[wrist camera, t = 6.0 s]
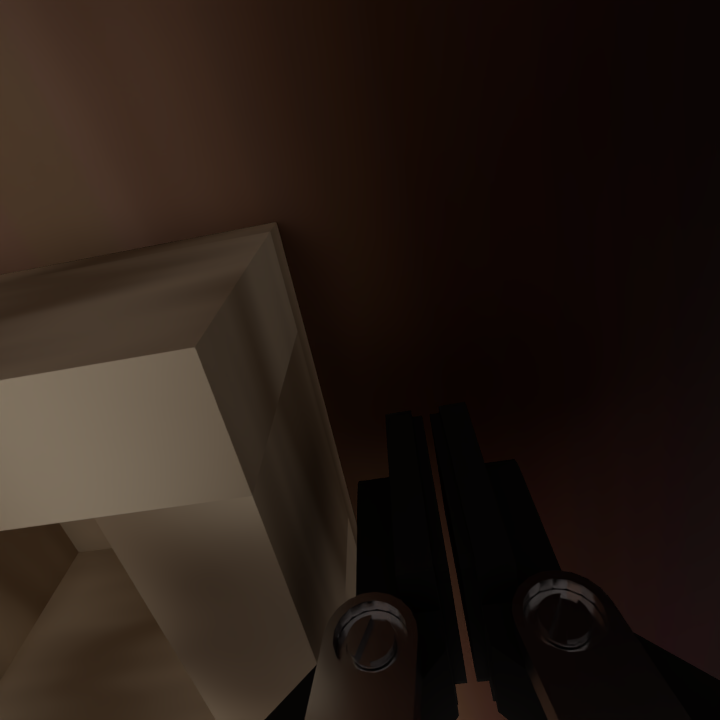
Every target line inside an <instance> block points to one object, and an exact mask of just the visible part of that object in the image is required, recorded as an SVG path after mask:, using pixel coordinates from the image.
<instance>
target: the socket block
mask: <svg viewBox="0 0 720 720" xmlns="http://www.w3.org/2000/svg"><path fill="white" fill-rule="evenodd" d="M356 561H357V524H356V520H355V516H354V512H353V509H352V505H351V501H350V497H349V494H348V490H347V486H346V482H345V479H344V475H343V471H342V467H341V463H340V460H339V456H338V452H337V448H336V445H335V441H334V437H333V433H332V430H331V426H330V422H329V418H328V414H327V411H326V407H325V403H324V399H323V396H322V392H321V388H320V384H319V381H318V377H317V373H316V369H315V365H314V362H313V358H312V354H311V350H310V347H309V343H308V339H307V335H306V332H305V328H304V324H303V320H302V316H301V313H300V309H299V305H298V301H297V298H296V294H295V290H294V286H293V283H292V279H291V275H290V271H289V267H288V264H287V260H286V256H285V252H284V249H283V245H282V241H281V237H280V234H279V230H278V226H277V222H274V223H269V224H264V225H259V226H253V227H248V228H243V229H238V230H232V231H227V232H222V233H217V234H212V235H206V236H201V237H196V238H191V239H186V240H180V241H175V242H170V243H165V244H159V245H154V246H149V247H144V248H139V249H133V250H128V251H123V252H118V253H112V254H107V255H102V256H97V257H92V258H86V259H81V260H76V261H71V262H65V263H60V264H55V265H50V266H45V267H39V268H34V269H29V270H24V271H18V272H13V273H8V274H3V275H0V720H265V719H266V718H267V716H268V715H269V714H270V713H271V712H272V711H273V710H274V709H275V708H276V707H277V706H278V705H279V704H280V703H281V702H282V701H283V700H284V699H285V697H286V696H287V695H288V694H289V693H290V692H291V691H292V690H293V689H294V688H295V687H296V686H297V685H298V684H299V683H300V682H301V681H302V680H303V678H304V677H305V676H306V675H307V674H308V673H309V672H310V671H311V670H312V669H313V668H314V667H315V666H316V665H317V661H318V657H319V653H320V648H321V644H322V639H323V635H324V631H325V629H326V626H327V624H328V621H329V619H330V618H331V616H332V615H333V614H334V612H335V611H336V610H337V608H338V607H340V606H341V605H342V604H344V603H345V602H346V601H347V600H349V599H351V598H353V597H355V596H356Z"/></svg>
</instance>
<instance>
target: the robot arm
mask: <svg viewBox="0 0 720 720" xmlns="http://www.w3.org/2000/svg"><path fill="white" fill-rule="evenodd" d="M430 419H431V425H432V432H433V438H434V445H435V451H436V458H437V464H438V470H439V477H440V483H441V490H442V496H443V503H444V509H445V515H446V521H447V526H448V531H449V536H450V542H451V547H452V552H453V557H454V563H455V568H456V573H457V579H458V584H459V589H460V594H461V600H462V605H463V610H464V615H465V621H466V626H467V631H468V636H469V642H470V647H471V652H472V657H473V663H474V668H475V673H476V678H477V682H480V681H489V682H490V687H491V692H492V697H493V701H496V703H497V708H498V712H499V713H501V714H502V715H503V716H504V717H506V718H507V719H508V720H720V680H718V679H716V678H714V677H712V676H711V675H709V674H707V673H705V672H704V671H702V670H700V669H698V668H696V667H695V666H693V665H691V664H689V663H687V662H686V661H684V660H682V659H680V658H678V657H677V656H675V655H673V654H671V653H670V652H668V651H666V650H664V649H662V648H661V647H659V646H657V645H655V644H653V643H652V642H650V641H648V640H646V639H644V638H643V637H641V636H639V635H637V634H635V633H634V632H633V631H632V630H631V628H630V627H629V625H628V624H627V622H626V621H625V619H624V618H623V616H622V615H621V613H620V612H619V610H618V609H617V607H616V606H615V604H614V603H613V601H612V600H611V599H610V598H609V596H608V595H607V594H606V593H605V592H604V591H603V590H602V589H601V588H600V587H599V586H597V585H596V584H595V583H593V582H592V581H590V580H589V579H587V578H585V577H582V576H580V575H577V574H575V573H572V572H566V571H561V569H560V566H559V564H558V561H557V559H556V556H555V554H554V552H553V549H552V547H551V544H550V542H549V539H548V537H547V534H546V532H545V530H544V527H543V525H542V522H541V520H540V517H539V515H538V512H537V510H536V507H535V505H534V503H533V500H532V498H531V495H530V493H529V490H528V488H527V485H526V483H525V480H524V478H523V476H522V473H521V471H520V468H519V466H518V464H517V462H516V461H515V460H514V459H511V460H505V461H498V462H491V463H484V460H483V457H482V454H481V451H480V448H479V445H478V442H477V438H476V435H475V432H474V429H473V426H472V423H471V420H470V417H469V413H468V410H467V407H466V404H465V402H462V403H456V404H449V405H443V406H439V413H436V414H430ZM386 433H387V448H388V463H389V477H387V478H380V479H373V480H366V481H359V483H358V499H357V561H356V596H355V597H353V598H351V599H349V600H347V601H346V602H345V603H344V604H342V605H341V606H340V607H338V608H337V610H336V611H335V612H334V614H333V615H332V616H331V618H330V619H329V621H328V624H327V626H326V629H325V631H324V635H323V639H322V644H321V648H320V653H319V657H318V661H317V665H316V666H315V667H314V668H313V669H312V670H311V671H310V672H309V673H308V674H307V675H306V676H305V677H304V678H303V680H302V681H301V682H300V683H299V684H298V685H297V686H296V687H295V688H294V689H293V690H292V691H291V692H290V693H289V694H288V695H287V696H286V697H285V699H284V700H283V701H282V702H281V703H280V704H279V705H278V706H277V707H276V708H275V709H274V710H273V711H272V712H271V713H270V714H269V715H268V716H267V718H266V719H265V720H456V719H457V718H458V716H459V713H458V707H457V705H458V700H457V694H456V687H455V684H461V683H467V678H466V672H465V666H464V660H463V654H462V648H461V642H460V635H459V629H458V623H457V617H456V611H455V605H454V599H453V592H452V586H451V580H450V574H449V568H448V562H447V557H446V551H445V545H444V539H443V534H442V528H441V522H440V517H439V511H438V505H437V499H436V494H435V488H434V482H433V477H432V471H431V465H430V460H429V454H428V448H427V443H426V437H425V431H424V425H423V420H422V416H417V417H412V415H411V411H405V412H398V413H392V414H386Z"/></svg>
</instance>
